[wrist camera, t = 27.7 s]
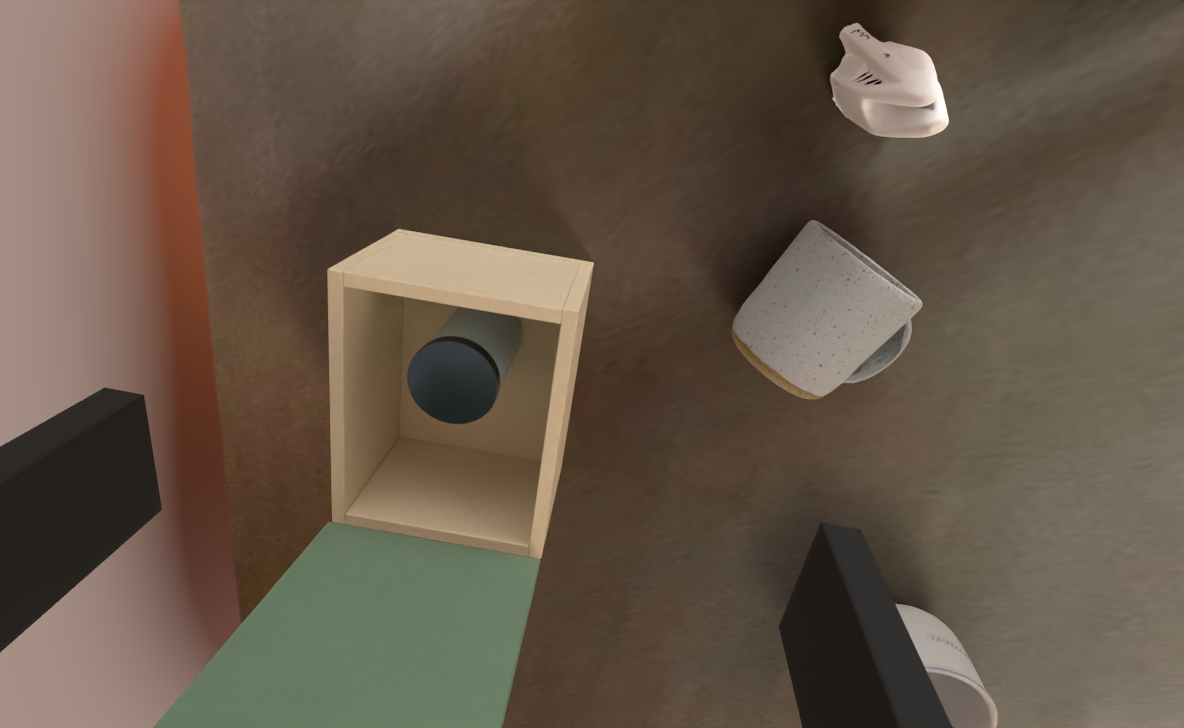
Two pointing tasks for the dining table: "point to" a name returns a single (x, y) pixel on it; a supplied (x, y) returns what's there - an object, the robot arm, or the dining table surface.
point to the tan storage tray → (431, 447)
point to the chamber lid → (371, 640)
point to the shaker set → (888, 87)
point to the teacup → (949, 670)
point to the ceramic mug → (824, 316)
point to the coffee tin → (464, 365)
